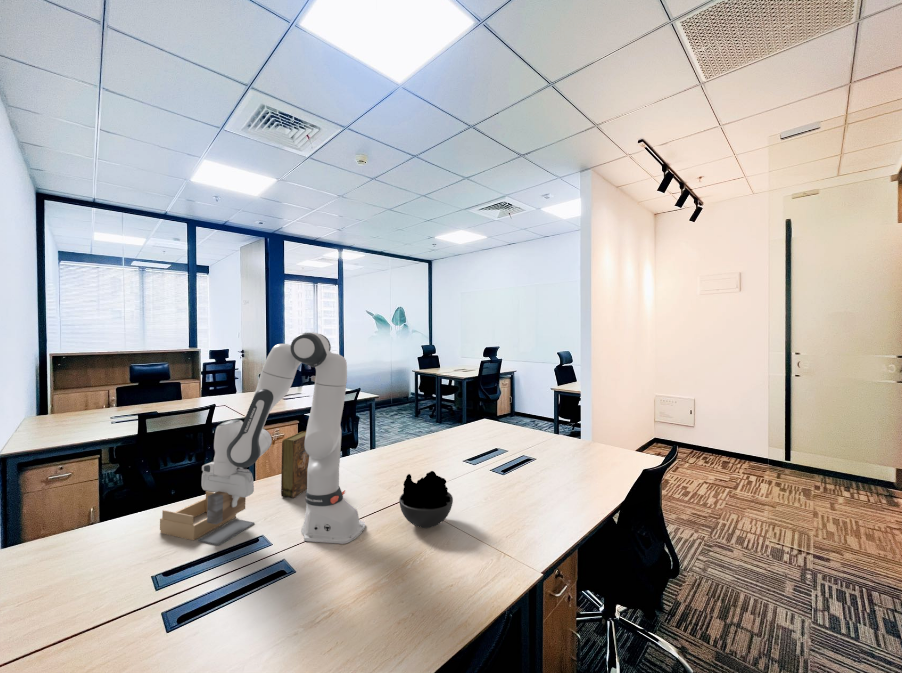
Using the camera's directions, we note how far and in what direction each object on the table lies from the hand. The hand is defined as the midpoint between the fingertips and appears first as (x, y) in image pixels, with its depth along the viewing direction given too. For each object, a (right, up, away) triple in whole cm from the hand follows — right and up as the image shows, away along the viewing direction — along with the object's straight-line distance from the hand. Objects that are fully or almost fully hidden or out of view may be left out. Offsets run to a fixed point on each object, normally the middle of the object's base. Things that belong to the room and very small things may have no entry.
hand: (227, 505), depth 131 cm
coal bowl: (+70, -11, +7) cm, 71 cm away
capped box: (0, -4, 0) cm, 4 cm away
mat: (0, -10, 0) cm, 10 cm away
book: (+11, -10, +35) cm, 38 cm away
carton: (-13, -9, +5) cm, 17 cm away
